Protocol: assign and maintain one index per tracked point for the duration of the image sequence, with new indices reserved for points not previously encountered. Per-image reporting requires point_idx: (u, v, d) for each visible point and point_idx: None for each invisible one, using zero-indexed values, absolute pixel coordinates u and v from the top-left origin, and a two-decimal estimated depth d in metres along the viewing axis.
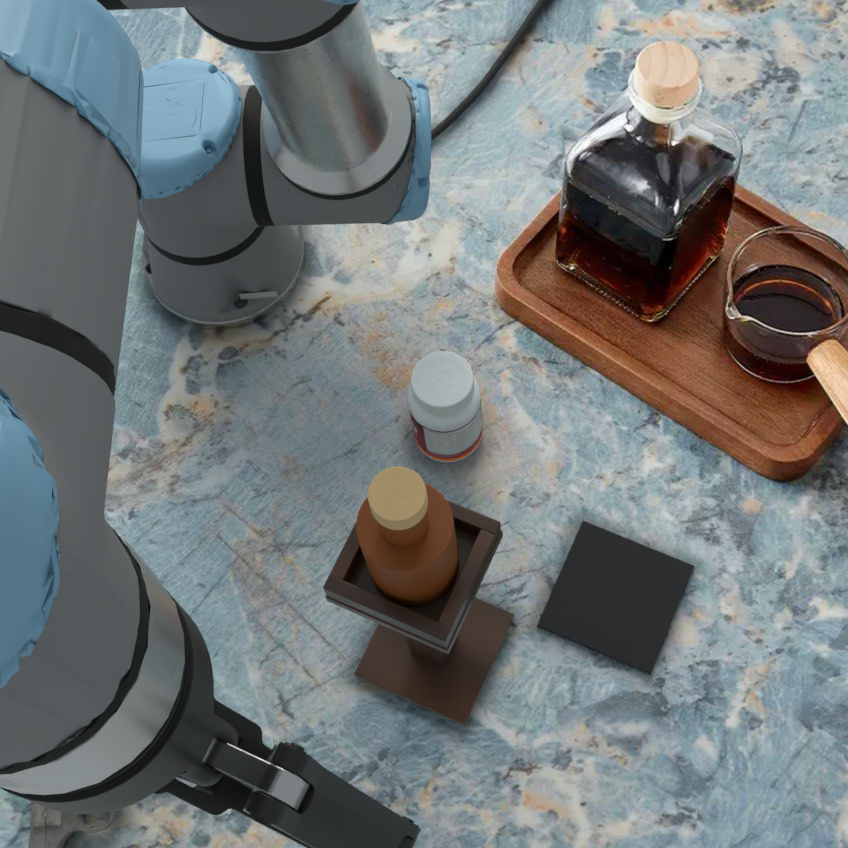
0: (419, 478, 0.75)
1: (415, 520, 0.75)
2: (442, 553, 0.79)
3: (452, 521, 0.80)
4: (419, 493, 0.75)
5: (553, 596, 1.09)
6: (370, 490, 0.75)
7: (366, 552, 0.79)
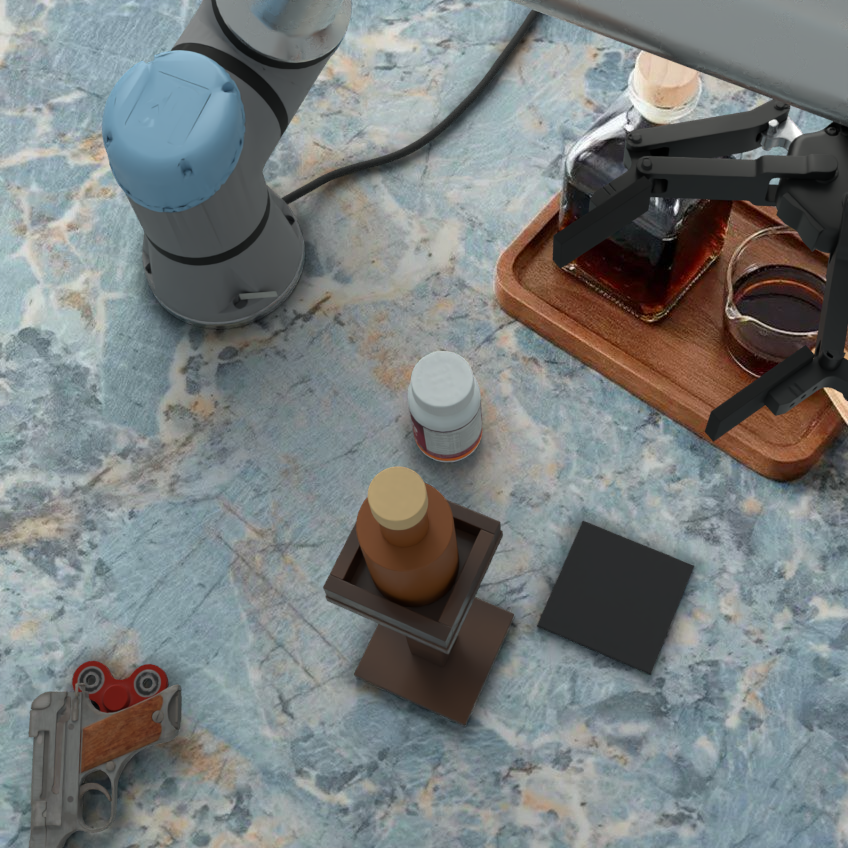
0: (419, 478, 0.75)
1: (415, 520, 0.75)
2: (442, 553, 0.79)
3: (452, 521, 0.80)
4: (419, 493, 0.75)
5: (553, 596, 1.09)
6: (370, 490, 0.75)
7: (366, 552, 0.79)
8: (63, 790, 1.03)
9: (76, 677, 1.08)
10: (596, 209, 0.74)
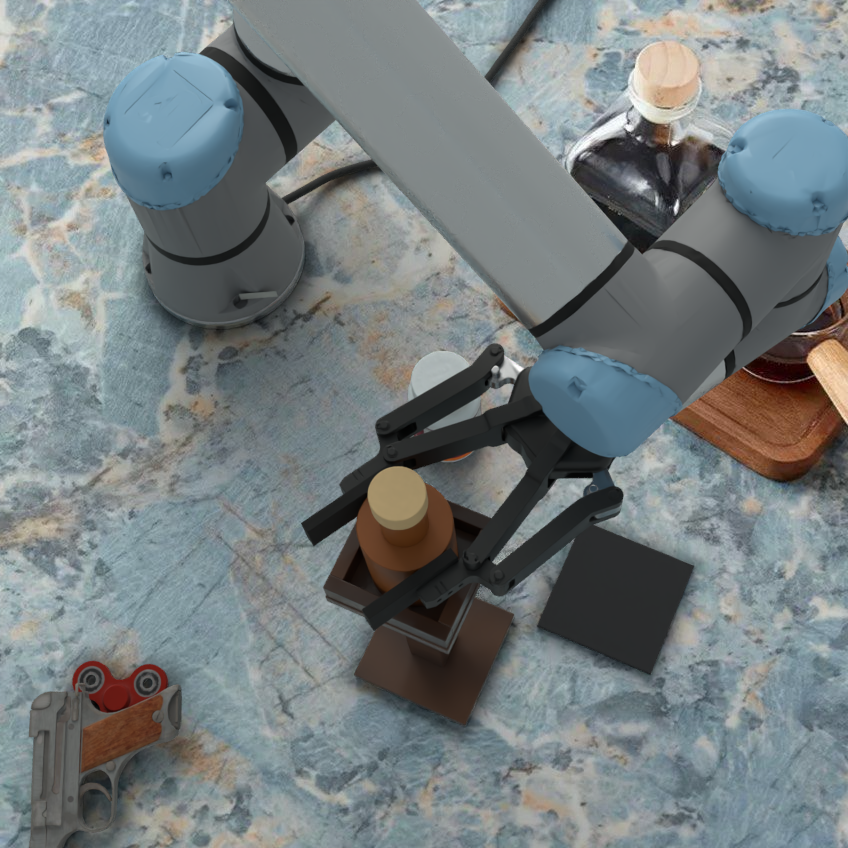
0: (419, 478, 0.75)
1: (415, 520, 0.75)
2: None
3: (452, 521, 0.80)
4: (419, 493, 0.75)
5: (553, 596, 1.09)
6: (370, 490, 0.75)
7: (366, 552, 0.79)
8: (63, 790, 1.03)
9: (76, 677, 1.08)
10: (342, 497, 0.80)
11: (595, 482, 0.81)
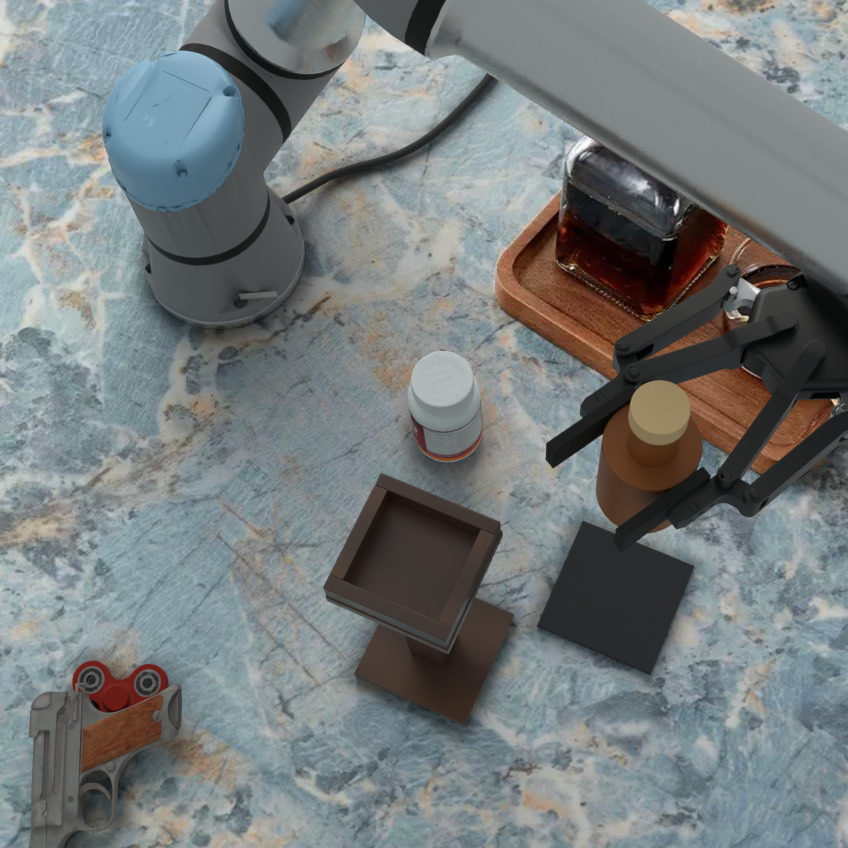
0: (682, 392, 0.74)
1: (679, 434, 0.74)
2: (693, 472, 0.78)
3: (701, 440, 0.78)
4: (684, 406, 0.73)
5: (553, 596, 1.09)
6: (633, 404, 0.74)
7: (615, 472, 0.78)
8: (63, 790, 1.03)
9: (76, 677, 1.08)
10: (586, 417, 0.79)
11: (843, 402, 0.79)
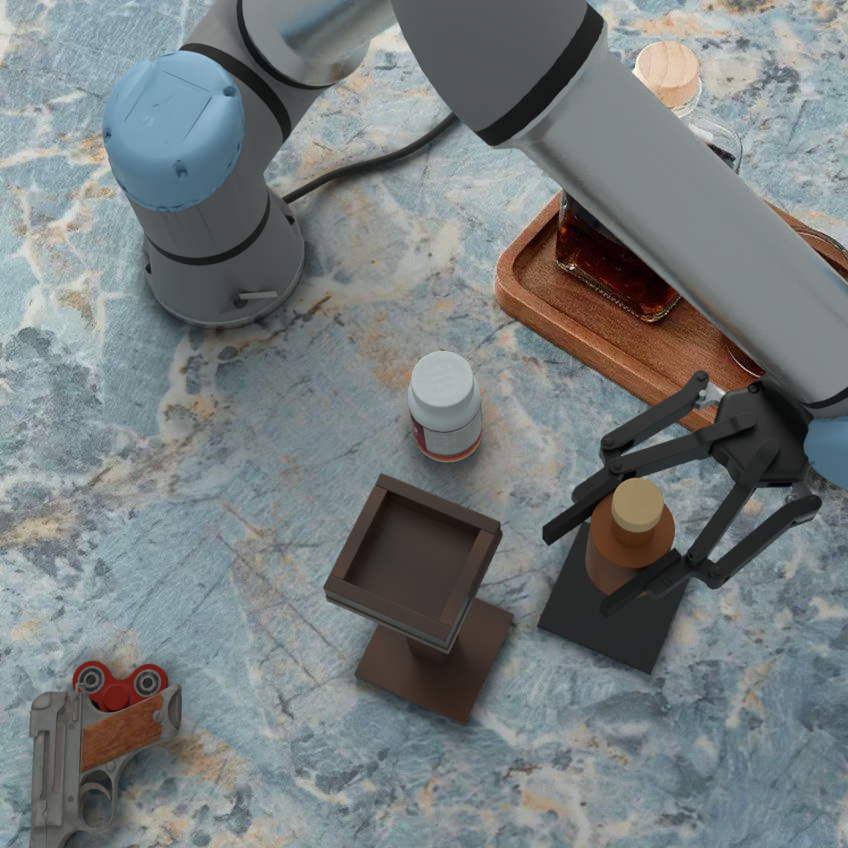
0: (656, 488, 0.88)
1: (653, 524, 0.88)
2: (667, 552, 0.92)
3: (673, 524, 0.92)
4: (657, 501, 0.88)
5: (553, 596, 1.09)
6: (615, 498, 0.88)
7: (600, 551, 0.92)
8: (63, 790, 1.03)
9: (76, 677, 1.08)
10: (576, 504, 0.93)
11: (795, 491, 0.93)
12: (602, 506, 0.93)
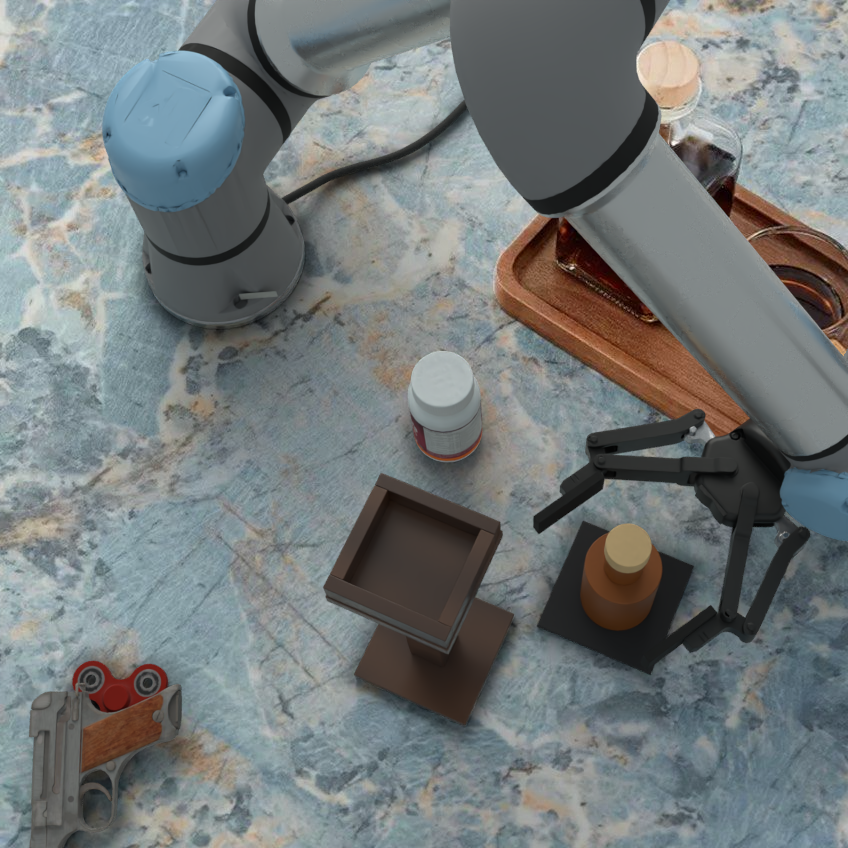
0: (645, 533, 0.96)
1: (642, 565, 0.96)
2: (655, 590, 1.00)
3: (661, 564, 1.01)
4: (646, 545, 0.96)
5: (553, 596, 1.09)
6: (607, 542, 0.96)
7: (594, 589, 1.01)
8: (63, 790, 1.03)
9: (76, 677, 1.08)
10: (564, 496, 1.03)
11: (781, 529, 1.02)
12: (596, 547, 1.02)
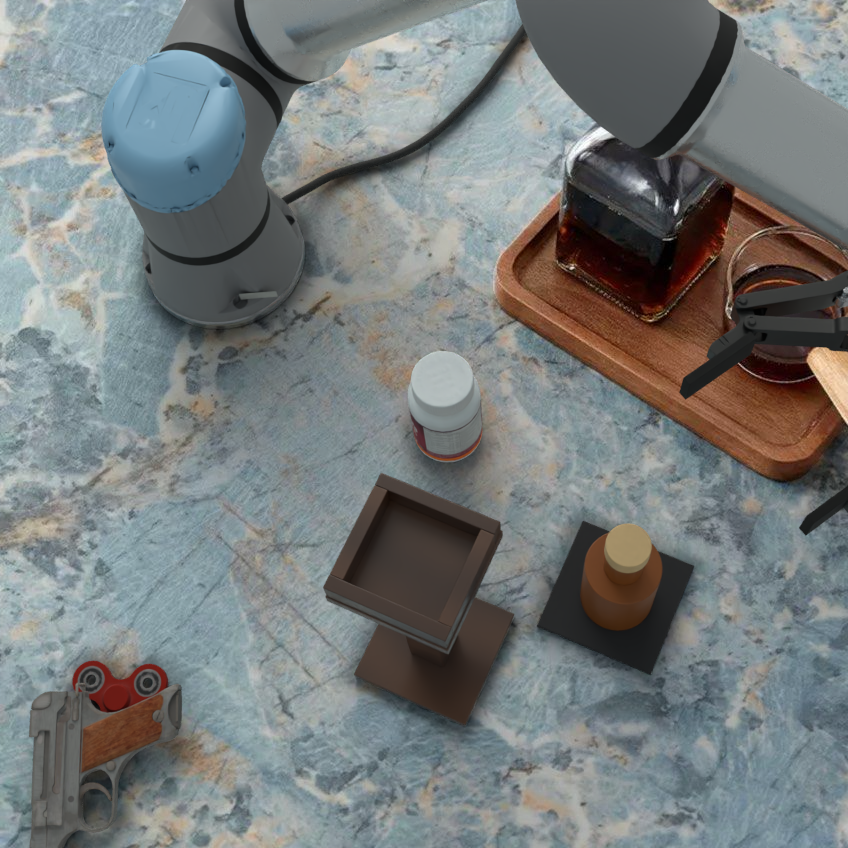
0: (645, 533, 0.96)
1: (642, 565, 0.96)
2: (655, 590, 1.00)
3: (661, 564, 1.01)
4: (646, 545, 0.96)
5: (553, 596, 1.09)
6: (607, 542, 0.96)
7: (594, 589, 1.01)
8: (64, 790, 1.03)
9: (76, 677, 1.08)
10: (715, 357, 0.98)
11: None
12: (596, 547, 1.02)
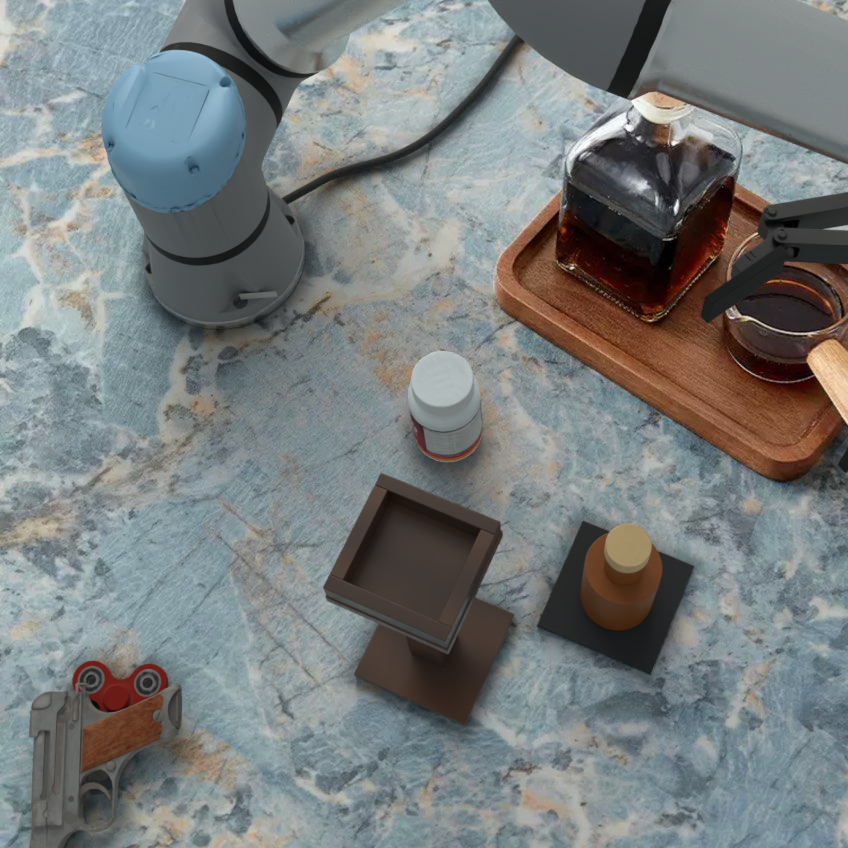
0: (645, 533, 0.96)
1: (642, 565, 0.96)
2: (655, 590, 1.00)
3: (661, 564, 1.01)
4: (646, 545, 0.96)
5: (553, 596, 1.09)
6: (607, 542, 0.96)
7: (594, 589, 1.01)
8: (64, 790, 1.03)
9: (76, 677, 1.08)
10: (741, 274, 0.87)
11: None
12: (596, 547, 1.02)
